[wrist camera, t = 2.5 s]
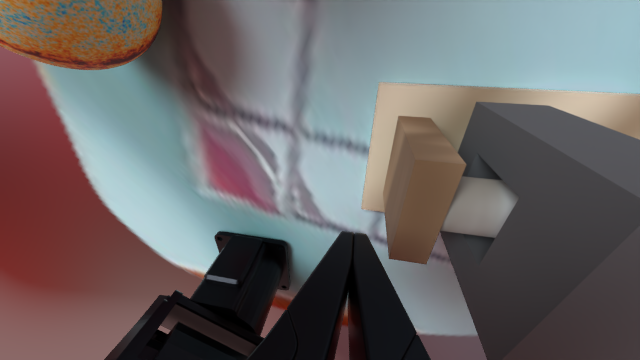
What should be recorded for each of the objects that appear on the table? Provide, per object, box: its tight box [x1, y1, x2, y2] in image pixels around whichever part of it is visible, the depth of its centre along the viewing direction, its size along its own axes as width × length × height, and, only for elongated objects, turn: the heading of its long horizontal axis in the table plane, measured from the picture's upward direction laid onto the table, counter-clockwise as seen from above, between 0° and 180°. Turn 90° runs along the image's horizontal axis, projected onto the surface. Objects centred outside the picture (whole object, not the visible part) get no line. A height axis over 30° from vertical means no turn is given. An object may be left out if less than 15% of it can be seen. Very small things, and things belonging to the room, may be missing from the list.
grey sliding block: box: [440, 102, 640, 360], centre depth 9 cm, size 3×7×8 cm, turn 179°
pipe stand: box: [361, 82, 640, 264], centre depth 10 cm, size 22×8×6 cm, turn 89°
